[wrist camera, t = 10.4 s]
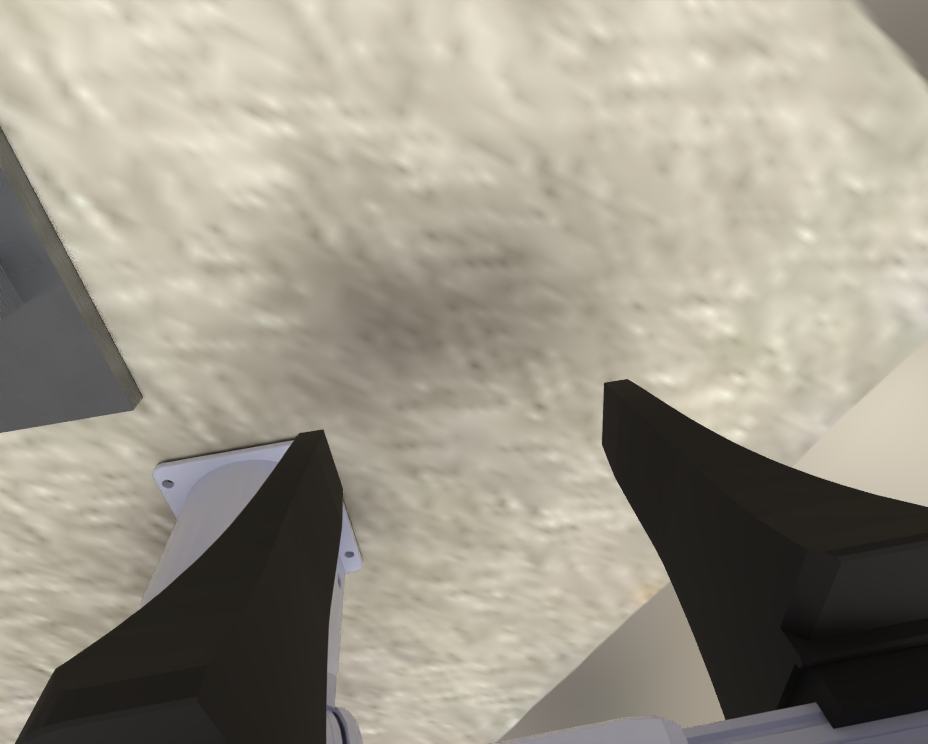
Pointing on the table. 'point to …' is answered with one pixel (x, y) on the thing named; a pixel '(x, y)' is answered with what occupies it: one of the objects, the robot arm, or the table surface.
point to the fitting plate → (48, 322)
